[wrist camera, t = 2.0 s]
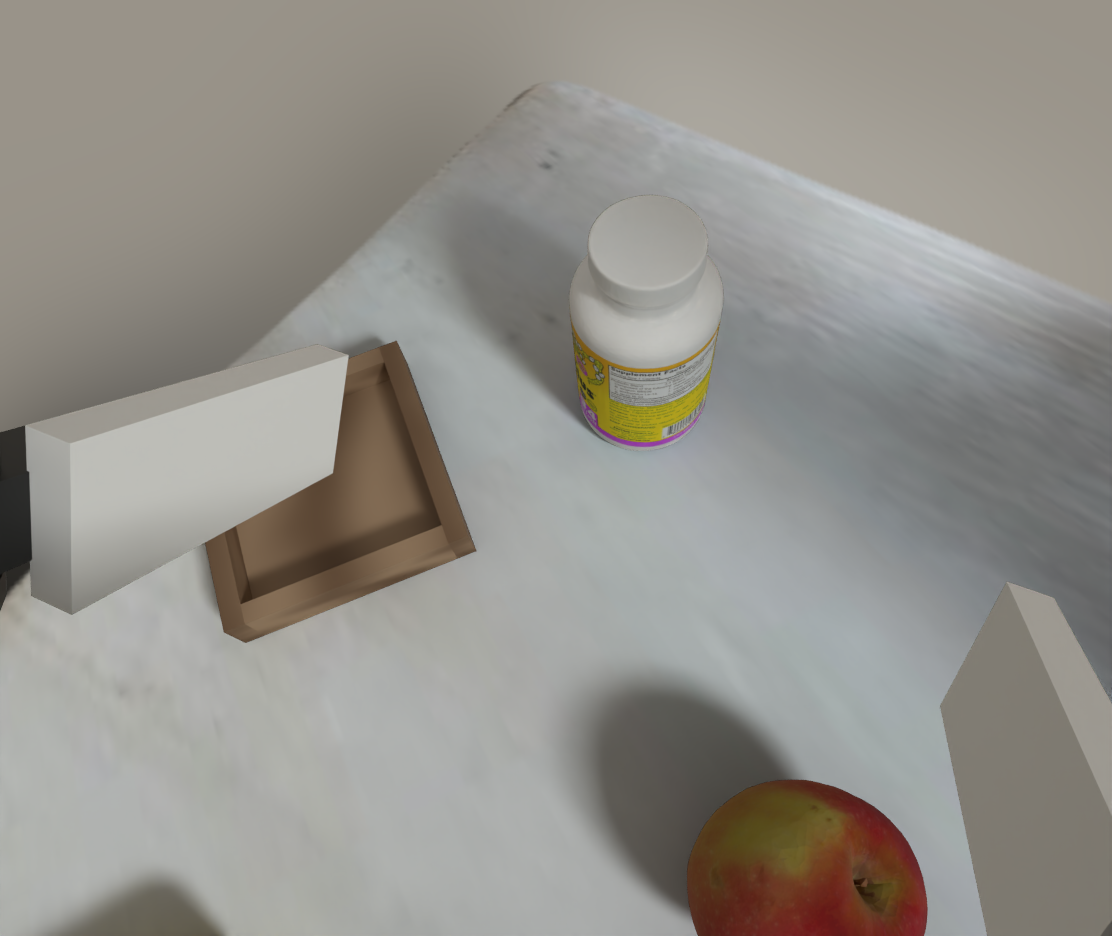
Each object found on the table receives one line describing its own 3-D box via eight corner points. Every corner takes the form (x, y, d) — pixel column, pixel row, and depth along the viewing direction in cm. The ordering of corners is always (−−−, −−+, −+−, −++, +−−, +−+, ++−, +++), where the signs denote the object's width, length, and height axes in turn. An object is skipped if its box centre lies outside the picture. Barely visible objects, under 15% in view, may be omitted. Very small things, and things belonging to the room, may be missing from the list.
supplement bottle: (586, 344, 44) (572, 170, 32) (706, 351, 43) (736, 175, 31) (573, 452, 41) (553, 305, 30) (701, 461, 40) (732, 313, 29)
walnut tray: (407, 363, 44) (396, 340, 42) (476, 551, 39) (468, 535, 37) (201, 440, 43) (179, 421, 41) (245, 642, 38) (223, 632, 36)
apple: (863, 1029, 30) (938, 1094, 23) (659, 942, 32) (669, 977, 25) (899, 824, 33) (977, 824, 26) (710, 755, 35) (733, 736, 27)
